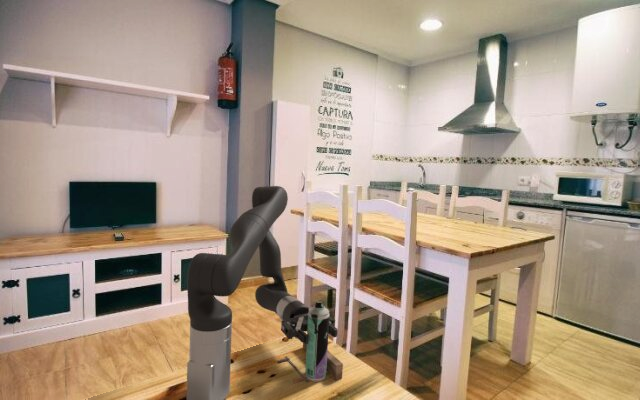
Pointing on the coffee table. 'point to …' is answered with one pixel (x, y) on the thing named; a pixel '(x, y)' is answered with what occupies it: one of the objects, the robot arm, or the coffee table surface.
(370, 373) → the coffee table surface
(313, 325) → the spray can
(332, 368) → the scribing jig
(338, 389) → the coffee table surface
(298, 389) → the coffee table surface
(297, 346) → the coffee table surface
